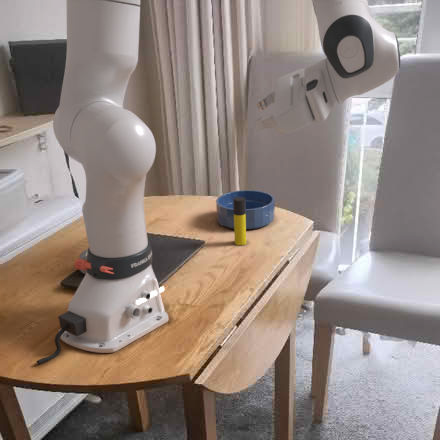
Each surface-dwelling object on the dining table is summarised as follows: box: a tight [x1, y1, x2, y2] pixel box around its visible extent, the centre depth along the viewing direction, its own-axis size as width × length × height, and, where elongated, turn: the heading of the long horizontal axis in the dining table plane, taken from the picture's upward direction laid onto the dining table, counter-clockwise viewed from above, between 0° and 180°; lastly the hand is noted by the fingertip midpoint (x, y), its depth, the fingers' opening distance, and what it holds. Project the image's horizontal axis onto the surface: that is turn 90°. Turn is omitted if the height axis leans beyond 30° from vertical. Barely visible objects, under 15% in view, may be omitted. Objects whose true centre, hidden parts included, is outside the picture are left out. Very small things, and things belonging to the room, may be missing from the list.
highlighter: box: [233, 197, 247, 246], centre depth 141 cm, size 3×3×11 cm
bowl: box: [215, 189, 276, 230], centre depth 155 cm, size 15×15×6 cm
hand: (256, 116), depth 124 cm, fingers open, 8 cm apart
